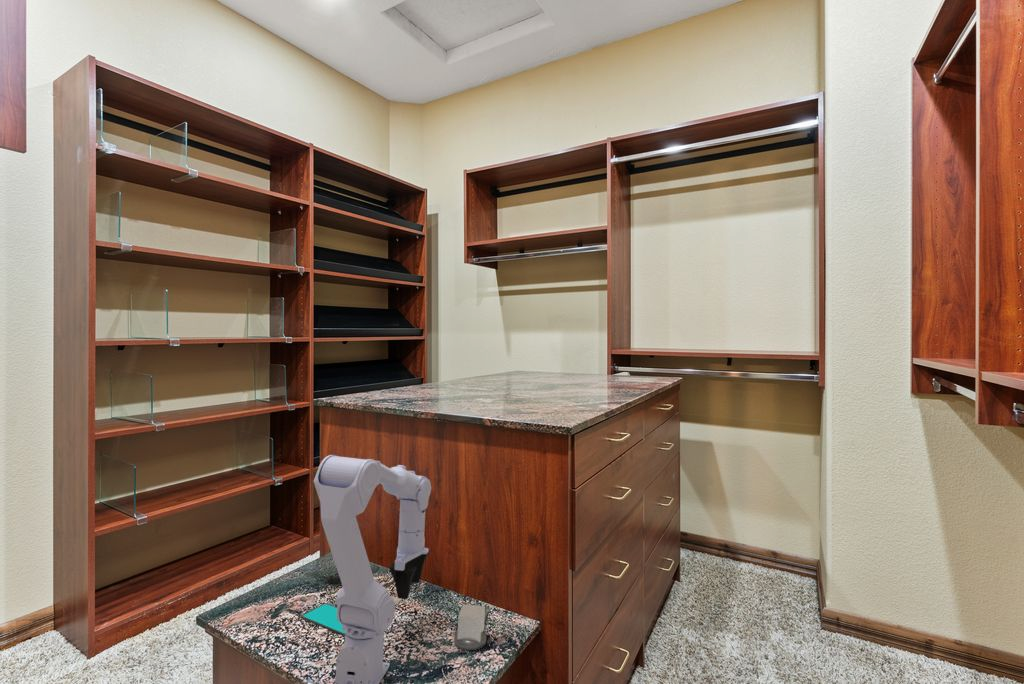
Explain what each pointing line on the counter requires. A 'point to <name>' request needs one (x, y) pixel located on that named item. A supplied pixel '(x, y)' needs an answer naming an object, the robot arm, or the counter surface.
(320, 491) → the robot arm
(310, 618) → the smartphone
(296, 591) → the counter surface
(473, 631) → the brushed metal cube
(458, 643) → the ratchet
